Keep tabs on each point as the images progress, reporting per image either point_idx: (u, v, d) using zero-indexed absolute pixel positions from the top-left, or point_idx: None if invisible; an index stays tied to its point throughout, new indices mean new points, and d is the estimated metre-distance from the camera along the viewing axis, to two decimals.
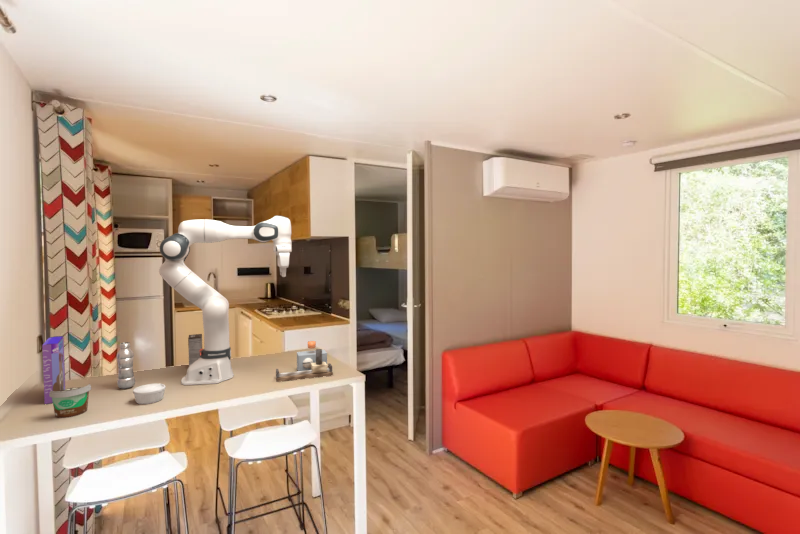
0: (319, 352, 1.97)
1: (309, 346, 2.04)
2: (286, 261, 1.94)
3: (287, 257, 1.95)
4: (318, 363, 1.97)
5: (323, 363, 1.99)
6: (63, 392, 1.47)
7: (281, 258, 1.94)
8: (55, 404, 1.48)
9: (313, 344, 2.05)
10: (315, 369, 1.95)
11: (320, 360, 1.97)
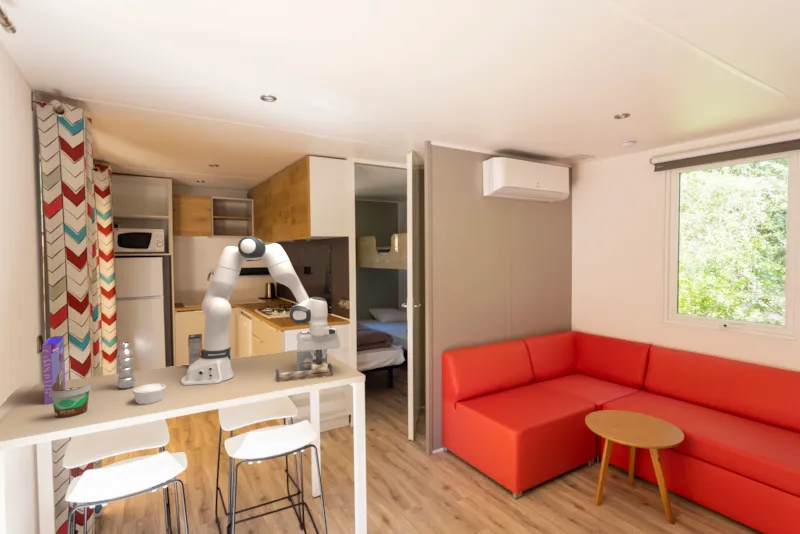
0: (319, 352, 1.97)
1: None
2: None
3: None
4: (318, 363, 1.97)
5: (323, 363, 1.99)
6: (63, 392, 1.47)
7: None
8: (55, 404, 1.48)
9: None
10: (315, 369, 1.95)
11: (320, 360, 1.97)
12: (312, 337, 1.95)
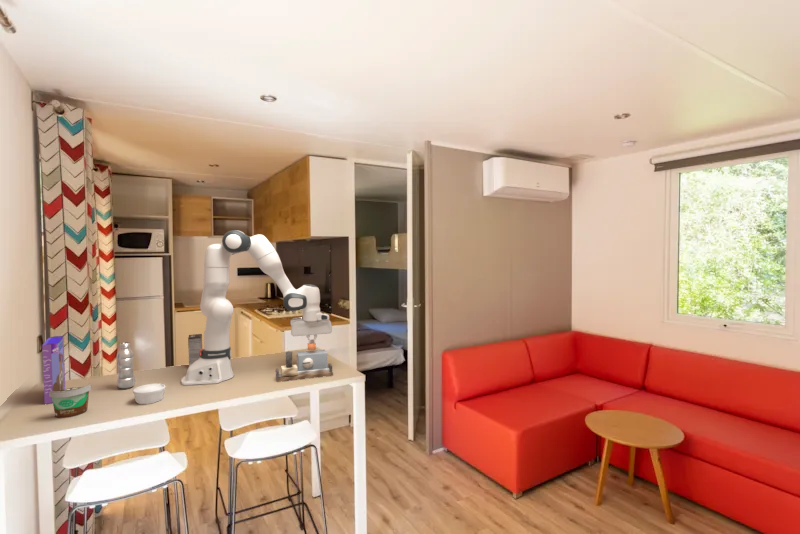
0: (289, 355, 1.92)
1: (309, 348, 2.04)
2: None
3: None
4: (288, 366, 1.92)
5: (293, 366, 1.94)
6: (63, 392, 1.47)
7: None
8: (55, 404, 1.48)
9: (313, 346, 2.05)
10: (284, 372, 1.90)
11: (290, 363, 1.92)
12: (305, 322, 2.03)
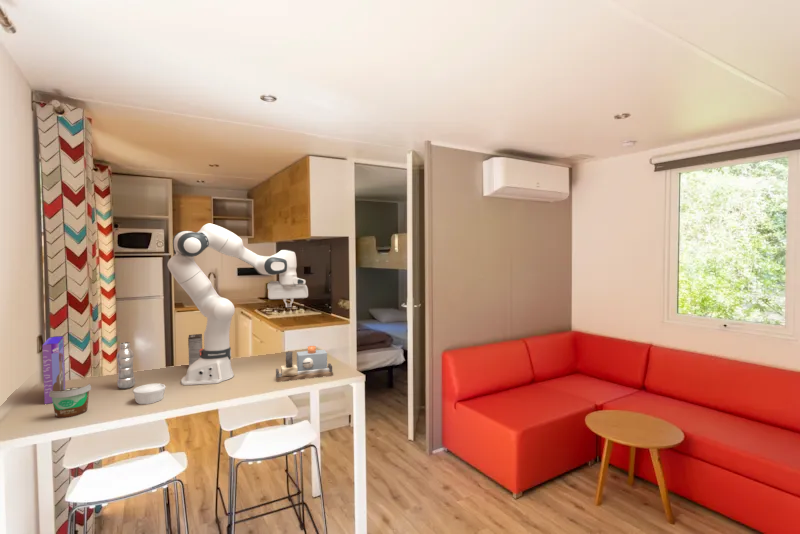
0: (289, 355, 1.92)
1: (309, 351, 2.04)
2: None
3: None
4: (288, 366, 1.92)
5: (293, 366, 1.94)
6: (63, 392, 1.47)
7: (307, 289, 2.15)
8: (55, 404, 1.48)
9: (313, 349, 2.05)
10: (284, 372, 1.90)
11: (290, 363, 1.92)
12: (282, 286, 2.10)
